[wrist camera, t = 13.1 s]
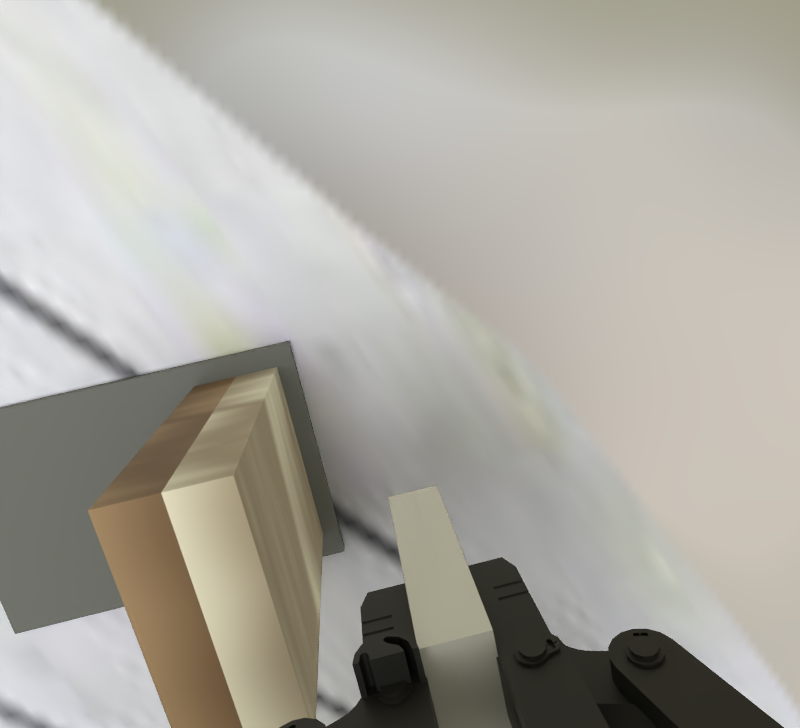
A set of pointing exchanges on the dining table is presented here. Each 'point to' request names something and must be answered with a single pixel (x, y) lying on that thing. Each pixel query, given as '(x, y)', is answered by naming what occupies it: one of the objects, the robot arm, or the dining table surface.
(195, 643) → the slab
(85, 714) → the dining table surface
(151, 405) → the mat
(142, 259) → the dining table surface
